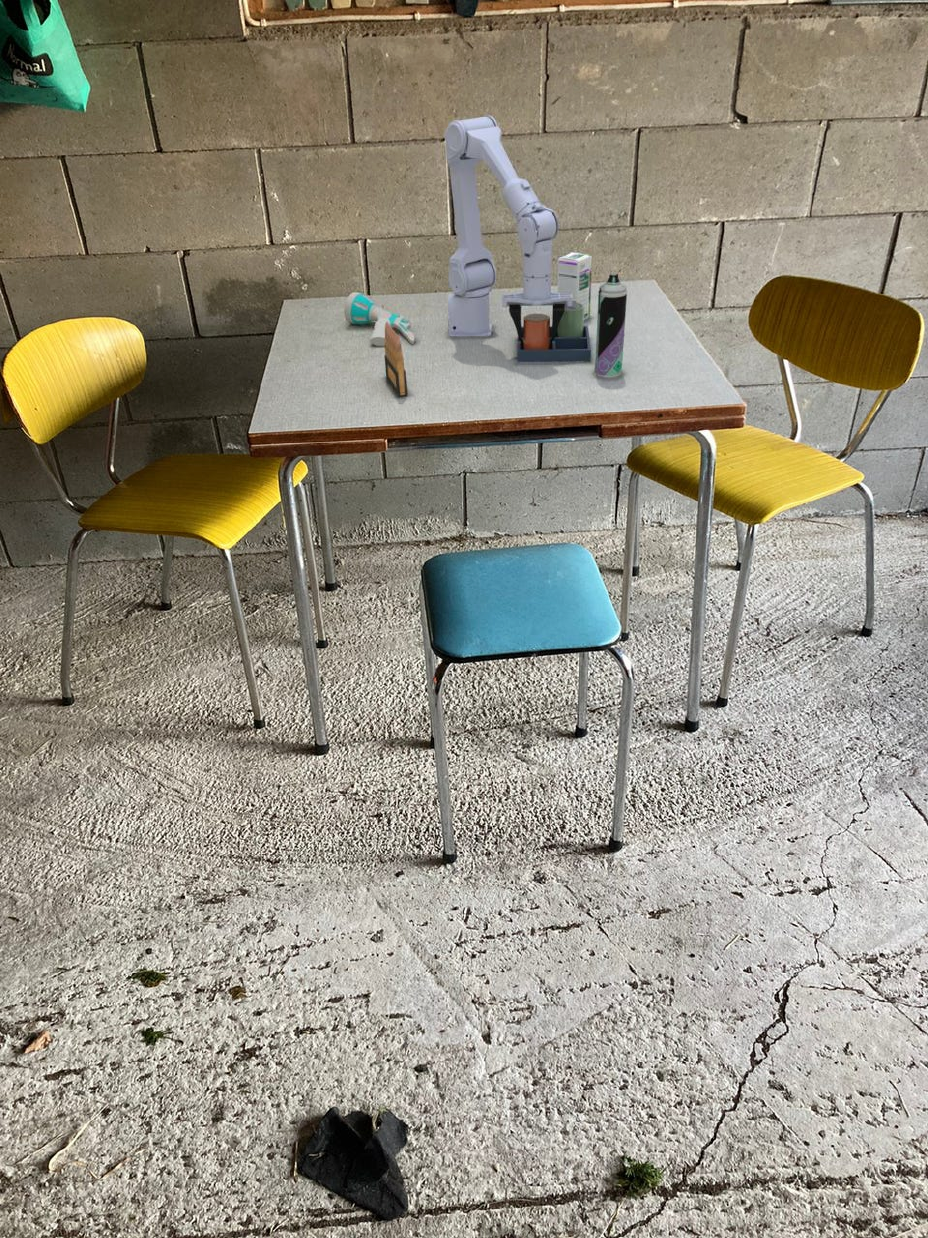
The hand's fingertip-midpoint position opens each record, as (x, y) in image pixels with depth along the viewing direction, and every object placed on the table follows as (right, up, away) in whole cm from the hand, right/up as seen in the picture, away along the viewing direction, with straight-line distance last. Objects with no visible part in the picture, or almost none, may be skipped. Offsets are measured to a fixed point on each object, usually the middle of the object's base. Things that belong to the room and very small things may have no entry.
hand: (536, 339), depth 200 cm
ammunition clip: (-29, -12, -9) cm, 33 cm away
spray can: (+14, -9, -7) cm, 18 cm away
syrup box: (+10, +11, +22) cm, 26 cm away
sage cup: (+8, +2, +7) cm, 11 cm away
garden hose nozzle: (-35, +7, +19) cm, 41 cm away
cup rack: (+4, -1, +5) cm, 6 cm away
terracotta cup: (0, -3, +2) cm, 3 cm away
